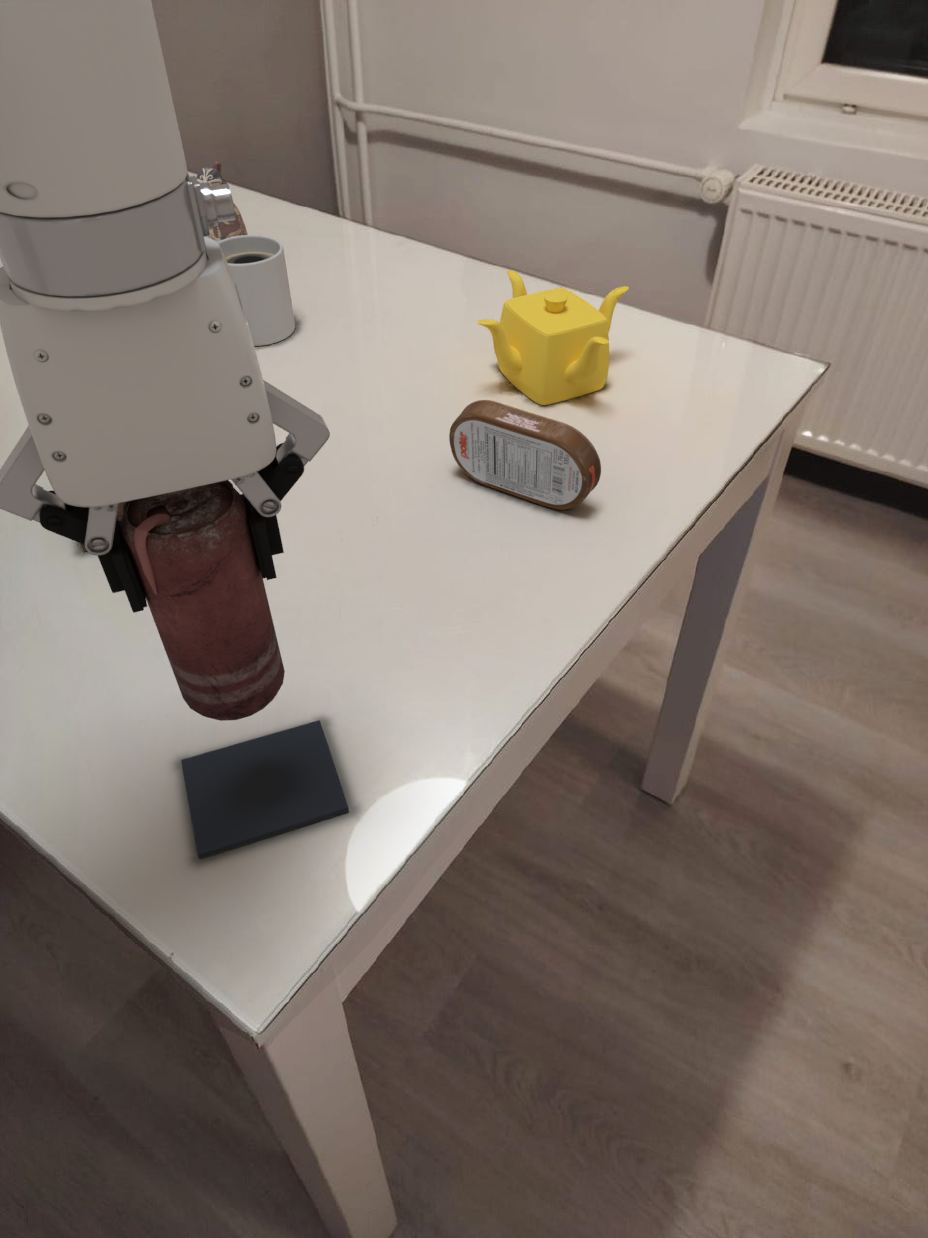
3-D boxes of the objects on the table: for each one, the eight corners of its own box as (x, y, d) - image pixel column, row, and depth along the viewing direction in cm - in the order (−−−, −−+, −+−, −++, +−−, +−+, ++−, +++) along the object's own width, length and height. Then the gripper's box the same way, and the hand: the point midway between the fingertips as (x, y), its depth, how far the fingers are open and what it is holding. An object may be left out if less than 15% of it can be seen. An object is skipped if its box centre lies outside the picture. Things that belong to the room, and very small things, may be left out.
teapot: (506, 340, 106) (508, 260, 99) (621, 355, 103) (631, 275, 96) (472, 400, 96) (473, 317, 89) (598, 419, 93) (609, 334, 86)
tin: (597, 507, 82) (607, 430, 76) (583, 525, 80) (592, 448, 74) (461, 461, 88) (460, 386, 82) (445, 477, 86) (443, 401, 80)
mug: (302, 314, 111) (291, 235, 104) (284, 350, 104) (270, 268, 97) (220, 311, 112) (203, 232, 105) (197, 347, 105) (177, 264, 98)
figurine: (191, 262, 123) (170, 171, 115) (219, 243, 128) (202, 155, 119) (233, 270, 121) (216, 178, 113) (261, 251, 126) (246, 161, 117)
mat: (199, 859, 56) (197, 855, 56) (182, 764, 61) (180, 759, 61) (349, 812, 58) (348, 807, 58) (320, 724, 64) (319, 719, 63)
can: (162, 715, 51) (86, 528, 41) (214, 640, 55) (157, 455, 45) (255, 739, 50) (200, 551, 40) (302, 660, 54) (262, 473, 44)
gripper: (297, 174, 38) (341, 503, 51) (-136, 230, 34) (29, 573, 47) (342, 236, 33) (378, 583, 46) (-161, 311, 29) (32, 671, 42)
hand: (201, 576), depth 46 cm, fingers closed on can, 6 cm apart
